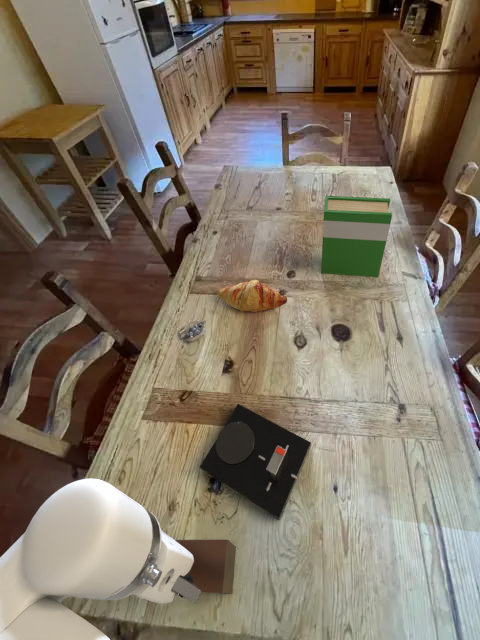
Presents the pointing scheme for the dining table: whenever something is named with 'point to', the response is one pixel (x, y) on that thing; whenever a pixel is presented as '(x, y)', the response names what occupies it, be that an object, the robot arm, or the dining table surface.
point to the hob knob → (277, 463)
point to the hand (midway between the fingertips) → (167, 565)
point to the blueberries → (193, 331)
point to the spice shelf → (212, 564)
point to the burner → (235, 443)
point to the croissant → (251, 296)
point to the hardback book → (354, 235)
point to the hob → (260, 463)
